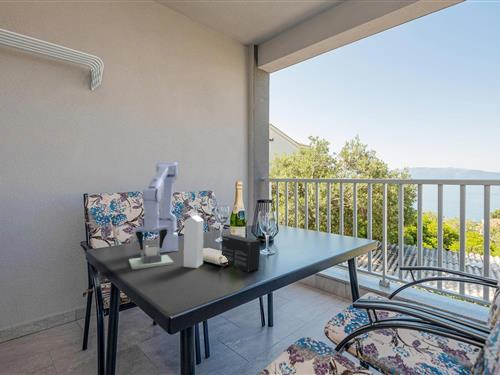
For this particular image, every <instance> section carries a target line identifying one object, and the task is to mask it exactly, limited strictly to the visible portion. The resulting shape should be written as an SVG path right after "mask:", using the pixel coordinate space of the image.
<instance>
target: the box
mask: <svg viewBox="0 0 500 375" xmlns="http://www.w3.org/2000/svg"><path fill="white" fill-rule="evenodd" d="M260 248H261V240H258V239H254V238H250V237H244V236H240V235H235V234H225V235H221V255H223V256H225V257H226V258H227V260H228V265H227V266H230V267H232V268H235V269H238V270H240V269H241V270H240V271H243V270H244V272H246V271H247V273H250V272H249V271H251V272H253V271H252V270H254V271H256V270H255V269H258V268H259V269H260V250H261V249H260ZM259 269H258V270H259Z"/></svg>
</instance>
